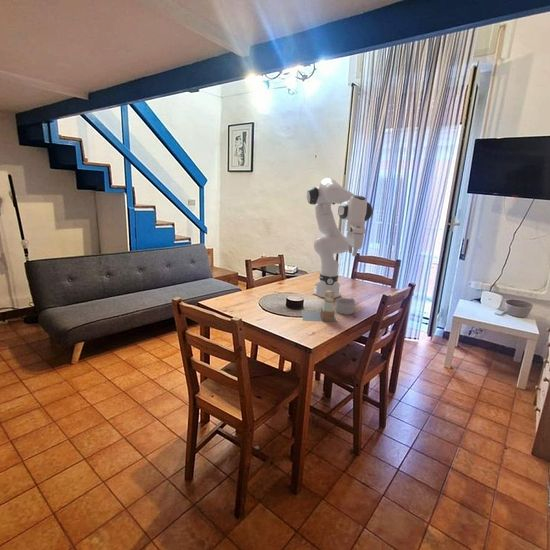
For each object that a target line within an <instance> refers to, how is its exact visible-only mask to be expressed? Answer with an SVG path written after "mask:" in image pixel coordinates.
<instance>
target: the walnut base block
mask: <svg viewBox="0 0 550 550" xmlns="http://www.w3.org/2000/svg"><path fill="white" fill-rule="evenodd" d="M320 312H321V316H320V317H321V319H322V321H334V316H335V311H334V310H333V312H324V311H323V308H322V307H320Z"/></svg>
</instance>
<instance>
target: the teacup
mask: <svg viewBox="0 0 550 550" xmlns="http://www.w3.org/2000/svg"><path fill="white" fill-rule="evenodd" d="M355 306H356V300H355V299H354V298H347V297H341V298H336V299H335V311H336V312H337V313H338V314H340V315H347V316H349V315H352V314H353V313H354V312H355V309H356V307H355Z"/></svg>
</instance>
